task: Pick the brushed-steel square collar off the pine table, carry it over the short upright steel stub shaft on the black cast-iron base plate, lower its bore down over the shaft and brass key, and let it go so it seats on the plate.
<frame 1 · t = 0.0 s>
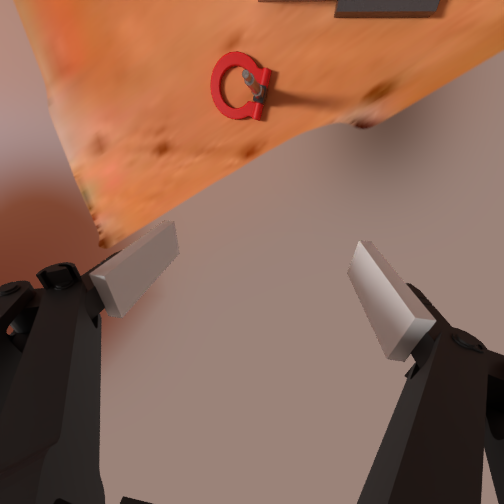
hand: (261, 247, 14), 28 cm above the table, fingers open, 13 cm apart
tow hook: (239, 89, 32), on the table
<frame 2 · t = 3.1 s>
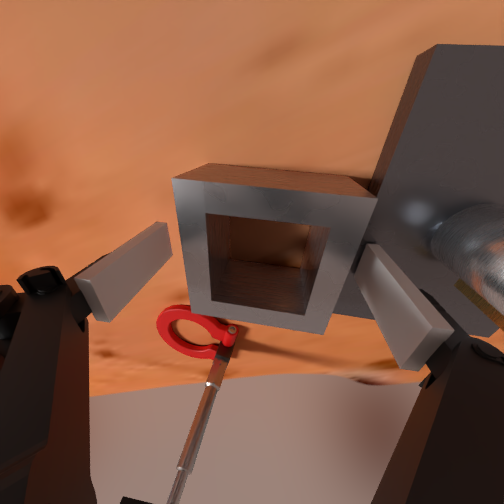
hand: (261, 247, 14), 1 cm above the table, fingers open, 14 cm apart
collar: (268, 231, 15), on the table
shaft stand: (453, 226, 13), on the table
tow hook: (197, 329, 23), on the table
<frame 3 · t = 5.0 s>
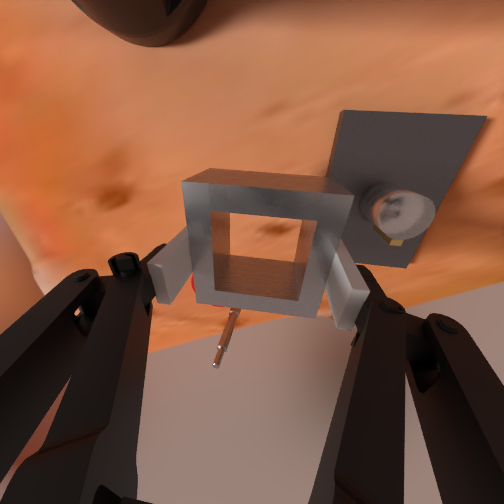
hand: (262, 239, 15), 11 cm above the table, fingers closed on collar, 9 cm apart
collar: (264, 228, 17), point 9 cm above the table, touching gripper
shaft stand: (374, 198, 23), on the table
tow hook: (220, 283, 33), on the table
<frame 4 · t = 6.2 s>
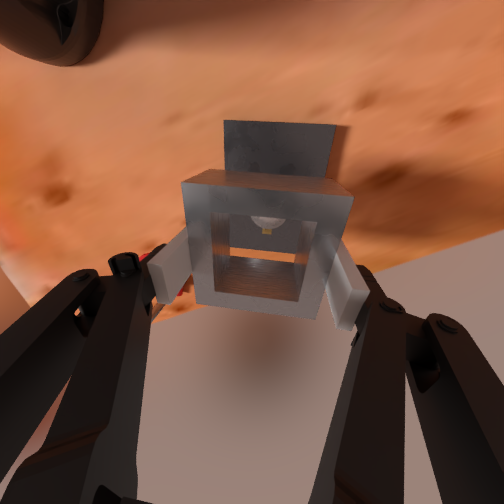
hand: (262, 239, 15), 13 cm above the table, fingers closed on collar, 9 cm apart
collar: (264, 229, 17), point 11 cm above the table, touching gripper
shaft stand: (272, 194, 26), on the table
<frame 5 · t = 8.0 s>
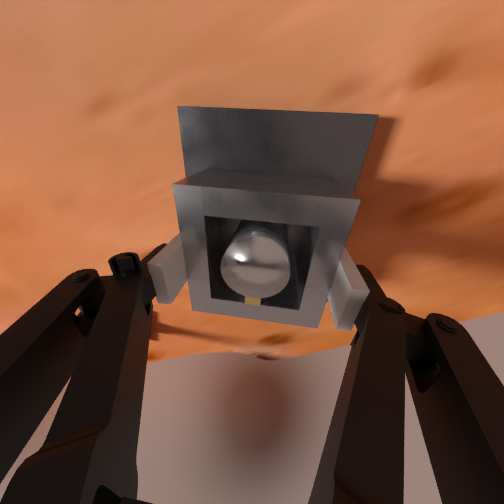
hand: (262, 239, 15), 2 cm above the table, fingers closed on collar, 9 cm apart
collar: (263, 232, 16), point 1 cm above the table, touching gripper, shaft stand
shaft stand: (264, 224, 17), on the table
when the fingers open (2 cm above the table, at t = 8.4 s): collar stays where it is, resting on shaft stand.
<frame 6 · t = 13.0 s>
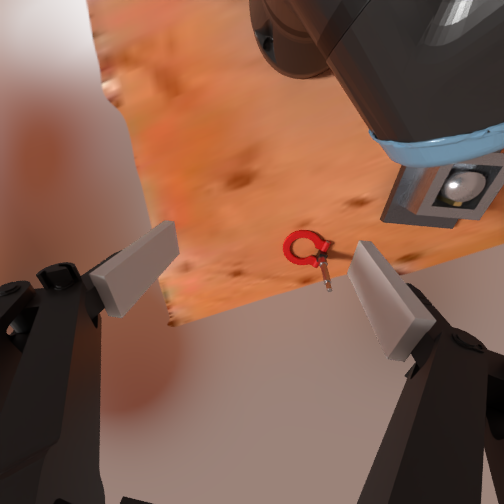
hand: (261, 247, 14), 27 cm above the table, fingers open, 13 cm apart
collar: (440, 180, 32), point 1 cm above the table, touching shaft stand
shaft stand: (434, 178, 34), on the table
tow hook: (303, 247, 44), on the table
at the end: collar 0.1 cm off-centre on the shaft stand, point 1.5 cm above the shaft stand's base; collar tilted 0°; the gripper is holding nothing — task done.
